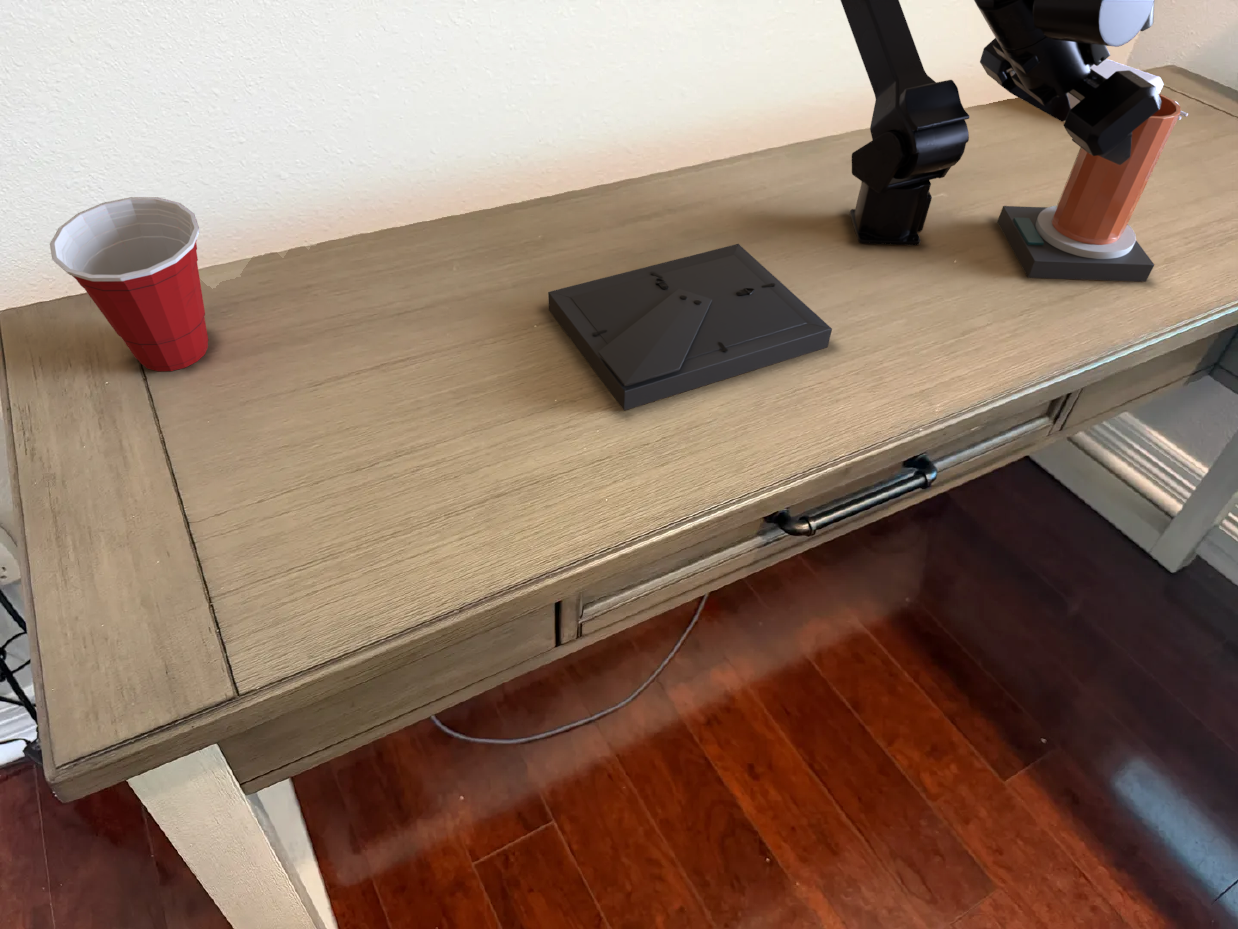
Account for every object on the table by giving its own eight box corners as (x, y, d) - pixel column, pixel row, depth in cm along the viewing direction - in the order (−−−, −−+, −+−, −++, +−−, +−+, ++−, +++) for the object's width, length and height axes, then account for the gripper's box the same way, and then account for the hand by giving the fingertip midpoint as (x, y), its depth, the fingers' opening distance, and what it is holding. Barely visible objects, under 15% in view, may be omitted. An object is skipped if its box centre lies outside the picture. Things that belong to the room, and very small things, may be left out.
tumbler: (1064, 243, 90) (1118, 116, 80) (1042, 209, 94) (1091, 86, 85) (1131, 246, 90) (1193, 119, 80) (1106, 212, 94) (1162, 88, 85)
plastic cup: (98, 402, 73) (34, 277, 65) (114, 325, 80) (58, 204, 72) (237, 382, 75) (193, 258, 67) (240, 309, 83) (201, 189, 74)
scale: (1027, 277, 90) (1037, 253, 88) (996, 222, 98) (1005, 198, 96) (1145, 281, 90) (1158, 257, 88) (1105, 225, 98) (1116, 202, 96)
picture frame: (623, 411, 74) (827, 347, 81) (625, 384, 72) (833, 321, 79) (548, 310, 84) (736, 261, 91) (547, 284, 82) (739, 236, 89)
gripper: (1197, -21, 65) (1246, 116, 75) (1054, -89, 78) (1112, 36, 88) (1062, 94, 70) (1125, 210, 79) (947, 11, 82) (1014, 120, 92)
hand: (1094, 138), depth 85 cm, fingers open, 9 cm apart
